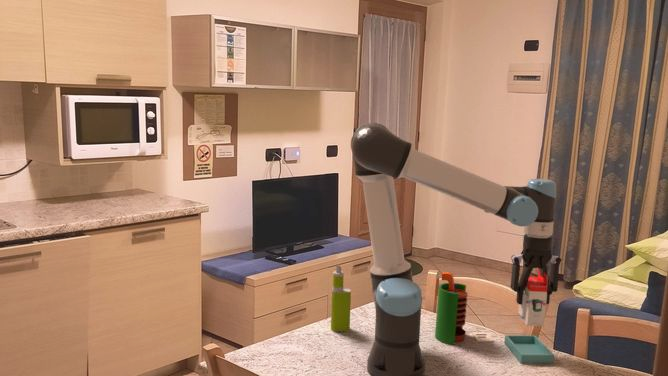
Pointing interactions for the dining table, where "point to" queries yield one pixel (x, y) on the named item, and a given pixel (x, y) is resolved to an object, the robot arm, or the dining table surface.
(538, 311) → the ink box
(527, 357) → the tray
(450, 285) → the motor
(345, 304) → the vape
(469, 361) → the dining table surface
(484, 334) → the label card
